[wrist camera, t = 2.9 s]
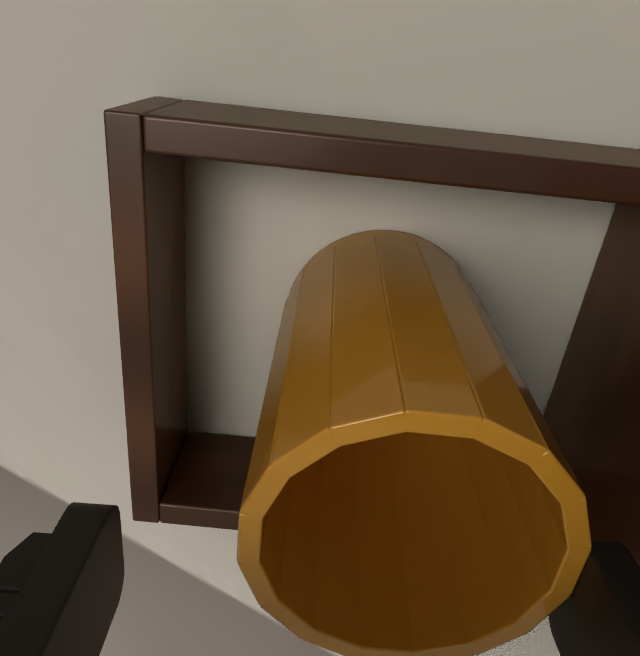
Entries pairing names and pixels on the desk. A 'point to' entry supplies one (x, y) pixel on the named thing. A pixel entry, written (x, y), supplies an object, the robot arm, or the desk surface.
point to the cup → (403, 466)
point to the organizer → (370, 161)
